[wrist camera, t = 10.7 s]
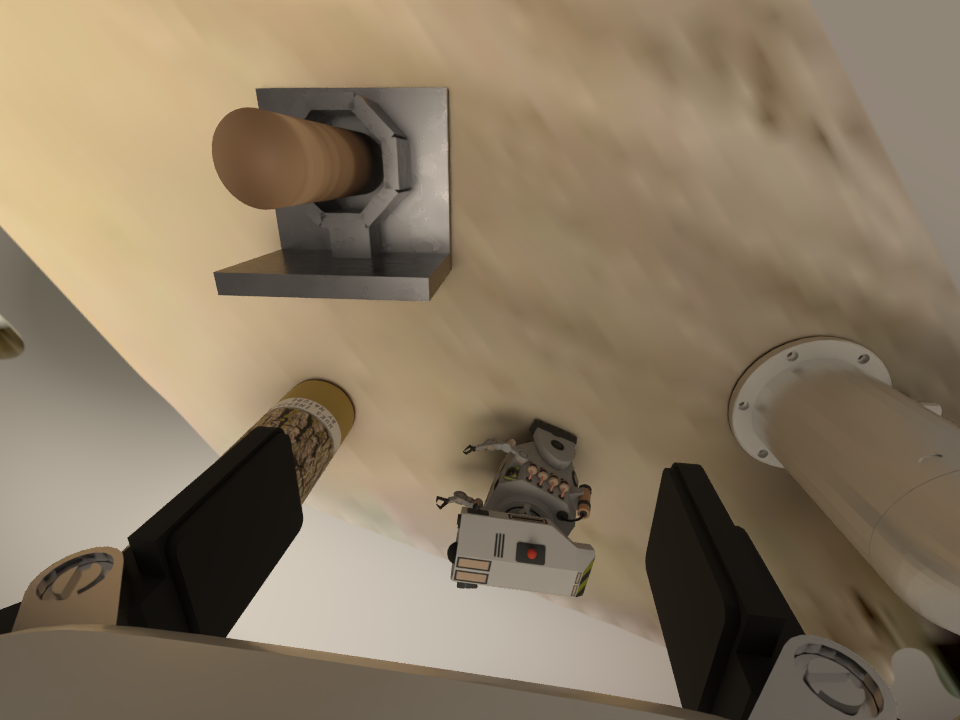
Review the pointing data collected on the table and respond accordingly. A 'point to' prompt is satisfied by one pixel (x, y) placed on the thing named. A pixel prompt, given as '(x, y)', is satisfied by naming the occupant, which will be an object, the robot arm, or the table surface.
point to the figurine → (525, 520)
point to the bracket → (364, 205)
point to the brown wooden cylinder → (292, 159)
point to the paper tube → (310, 428)
